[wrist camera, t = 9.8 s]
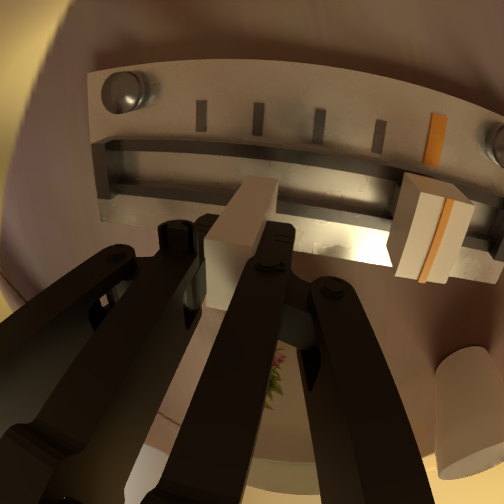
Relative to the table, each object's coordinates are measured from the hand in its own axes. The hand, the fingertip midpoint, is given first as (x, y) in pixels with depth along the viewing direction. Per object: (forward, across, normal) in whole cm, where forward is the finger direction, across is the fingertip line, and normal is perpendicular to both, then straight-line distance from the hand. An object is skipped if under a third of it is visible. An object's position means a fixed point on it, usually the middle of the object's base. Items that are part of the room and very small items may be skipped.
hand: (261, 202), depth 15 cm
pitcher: (+6, +4, -18) cm, 19 cm away
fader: (+4, +9, 0) cm, 9 cm away
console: (+6, +2, +1) cm, 6 cm away
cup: (+6, +22, -17) cm, 29 cm away
